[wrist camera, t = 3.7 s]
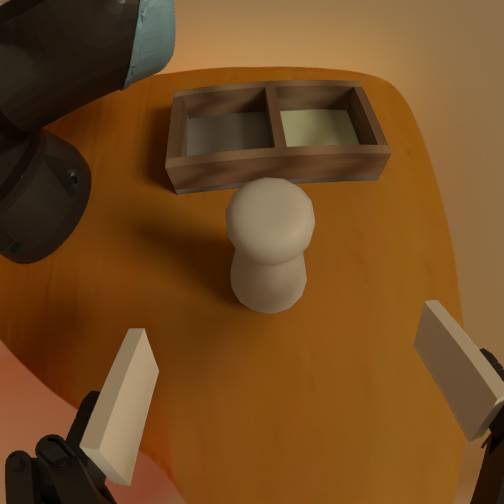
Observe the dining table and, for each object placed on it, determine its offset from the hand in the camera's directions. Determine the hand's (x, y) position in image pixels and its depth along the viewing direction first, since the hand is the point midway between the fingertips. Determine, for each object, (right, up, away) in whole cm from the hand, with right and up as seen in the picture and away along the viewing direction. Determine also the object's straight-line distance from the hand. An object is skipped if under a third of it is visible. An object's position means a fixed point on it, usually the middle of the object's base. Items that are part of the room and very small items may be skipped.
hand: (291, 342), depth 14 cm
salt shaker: (0, +1, +13) cm, 13 cm away
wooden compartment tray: (+1, +15, +18) cm, 24 cm away
